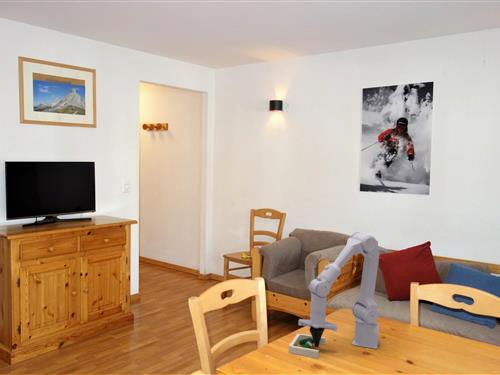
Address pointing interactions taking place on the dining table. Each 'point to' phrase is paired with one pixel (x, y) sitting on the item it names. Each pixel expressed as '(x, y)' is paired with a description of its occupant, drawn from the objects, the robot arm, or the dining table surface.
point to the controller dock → (304, 351)
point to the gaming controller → (306, 343)
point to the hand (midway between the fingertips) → (316, 346)
